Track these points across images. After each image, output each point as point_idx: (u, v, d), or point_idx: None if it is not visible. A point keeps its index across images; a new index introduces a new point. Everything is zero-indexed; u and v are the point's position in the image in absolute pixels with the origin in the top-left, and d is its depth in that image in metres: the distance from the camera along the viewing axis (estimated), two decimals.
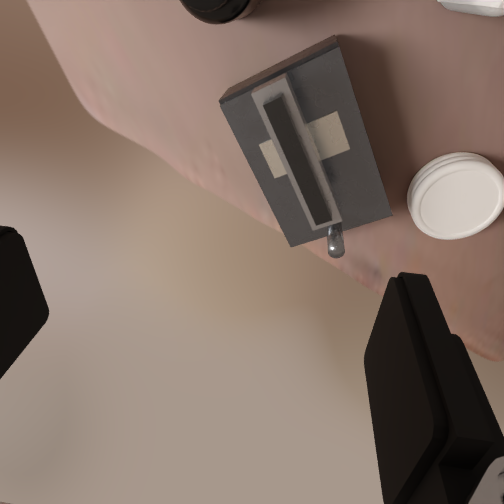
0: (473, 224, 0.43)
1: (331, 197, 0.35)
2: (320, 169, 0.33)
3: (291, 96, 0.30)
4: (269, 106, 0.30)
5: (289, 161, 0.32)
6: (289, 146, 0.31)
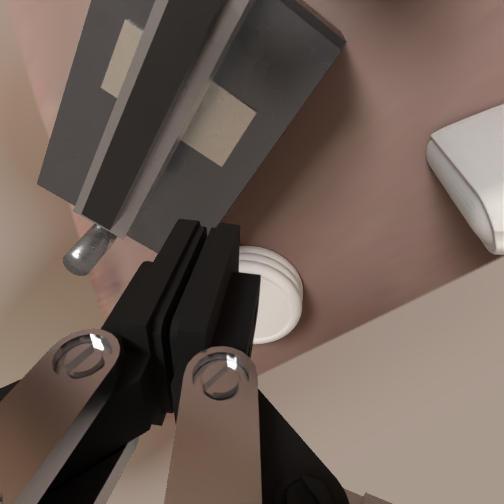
0: None
1: (139, 202, 0.19)
2: (163, 158, 0.18)
3: (236, 19, 0.14)
4: None
5: (132, 99, 0.15)
6: (155, 80, 0.15)
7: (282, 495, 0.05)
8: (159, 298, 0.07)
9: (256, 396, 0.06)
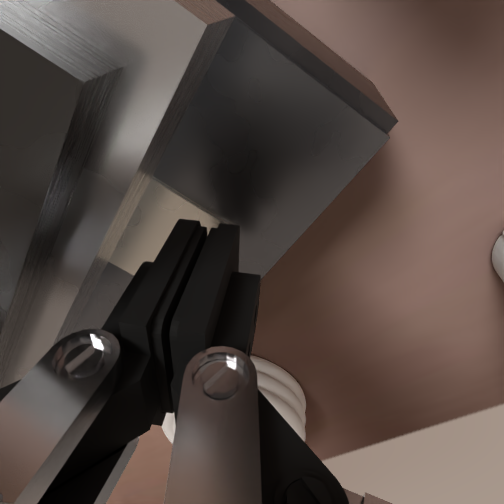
0: None
1: None
2: None
3: (149, 127, 0.05)
4: None
5: None
6: None
7: (282, 495, 0.05)
8: (159, 298, 0.07)
9: (256, 396, 0.06)
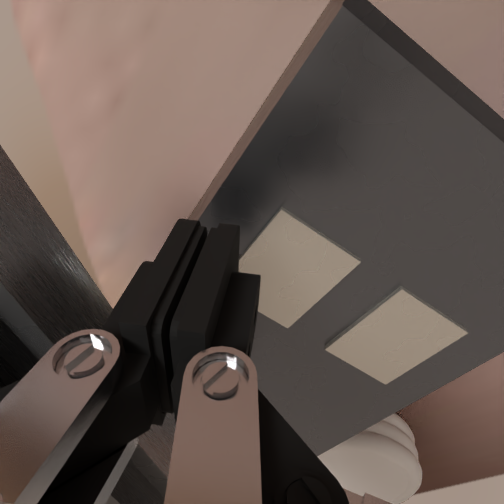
0: None
1: (159, 473, 0.11)
2: None
3: None
4: None
5: None
6: None
7: (282, 495, 0.05)
8: (159, 298, 0.07)
9: (256, 396, 0.06)
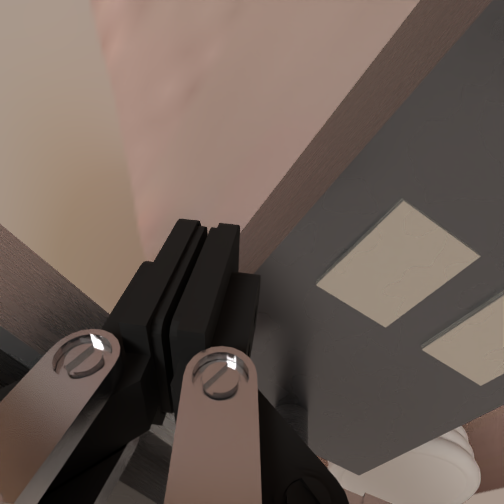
0: None
1: None
2: None
3: None
4: None
5: None
6: None
7: (282, 495, 0.05)
8: (159, 298, 0.07)
9: (256, 396, 0.06)
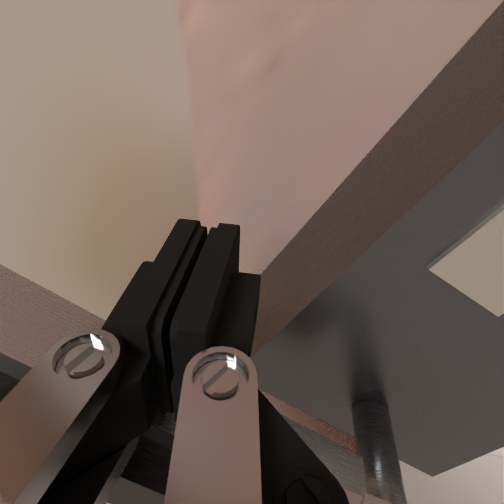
0: None
1: None
2: None
3: None
4: None
5: None
6: None
7: (282, 495, 0.05)
8: (159, 298, 0.07)
9: (256, 396, 0.06)
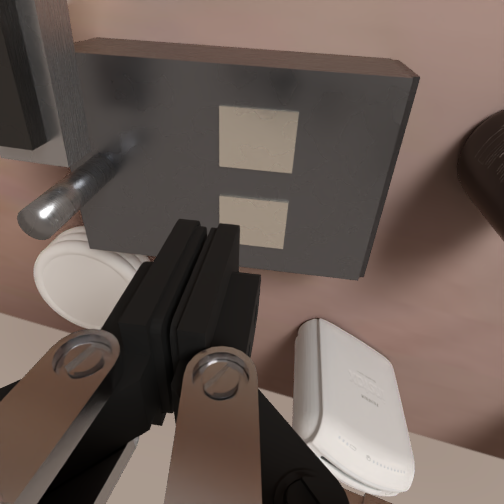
0: (55, 296, 0.33)
1: (51, 98, 0.14)
2: (31, 5, 0.13)
3: None
4: None
5: None
6: None
7: (282, 495, 0.05)
8: (159, 298, 0.07)
9: (256, 396, 0.06)
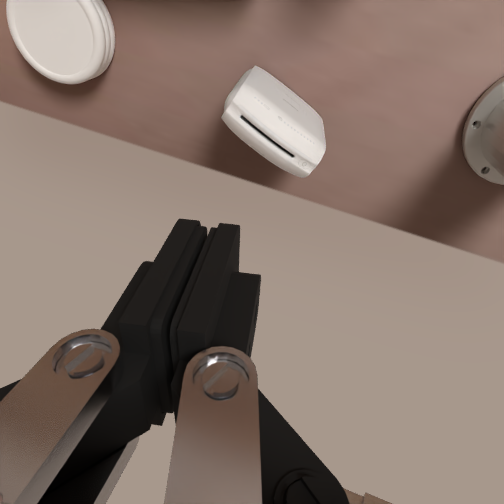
0: (26, 39, 0.38)
1: None
2: None
3: None
4: None
5: None
6: None
7: (282, 495, 0.05)
8: (159, 298, 0.07)
9: (256, 396, 0.06)
